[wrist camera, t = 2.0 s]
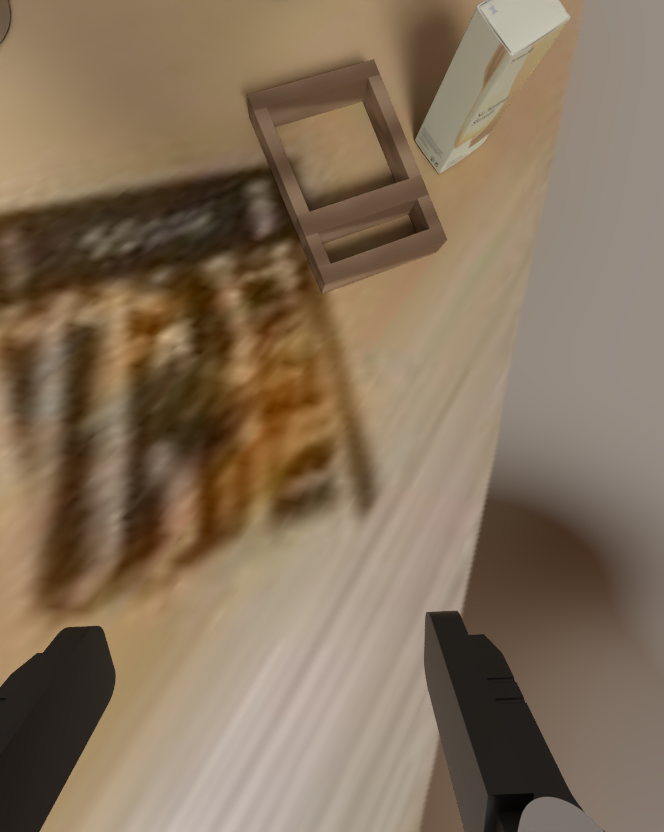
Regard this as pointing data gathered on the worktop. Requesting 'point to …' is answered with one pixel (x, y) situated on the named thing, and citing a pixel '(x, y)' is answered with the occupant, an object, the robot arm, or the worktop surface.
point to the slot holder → (361, 209)
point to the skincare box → (487, 75)
